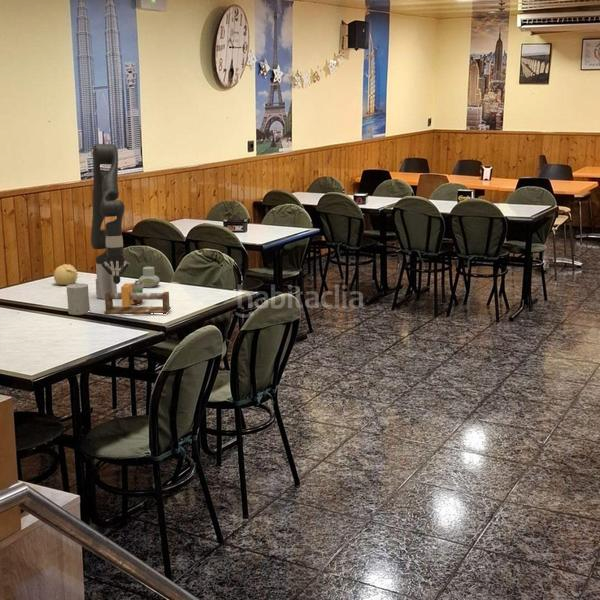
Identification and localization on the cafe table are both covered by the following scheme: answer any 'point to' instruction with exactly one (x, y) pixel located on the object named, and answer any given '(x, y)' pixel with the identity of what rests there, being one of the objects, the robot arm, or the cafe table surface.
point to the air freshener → (149, 277)
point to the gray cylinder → (78, 299)
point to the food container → (137, 290)
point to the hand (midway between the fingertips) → (116, 283)
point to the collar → (126, 294)
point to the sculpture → (65, 275)
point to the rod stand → (137, 310)
